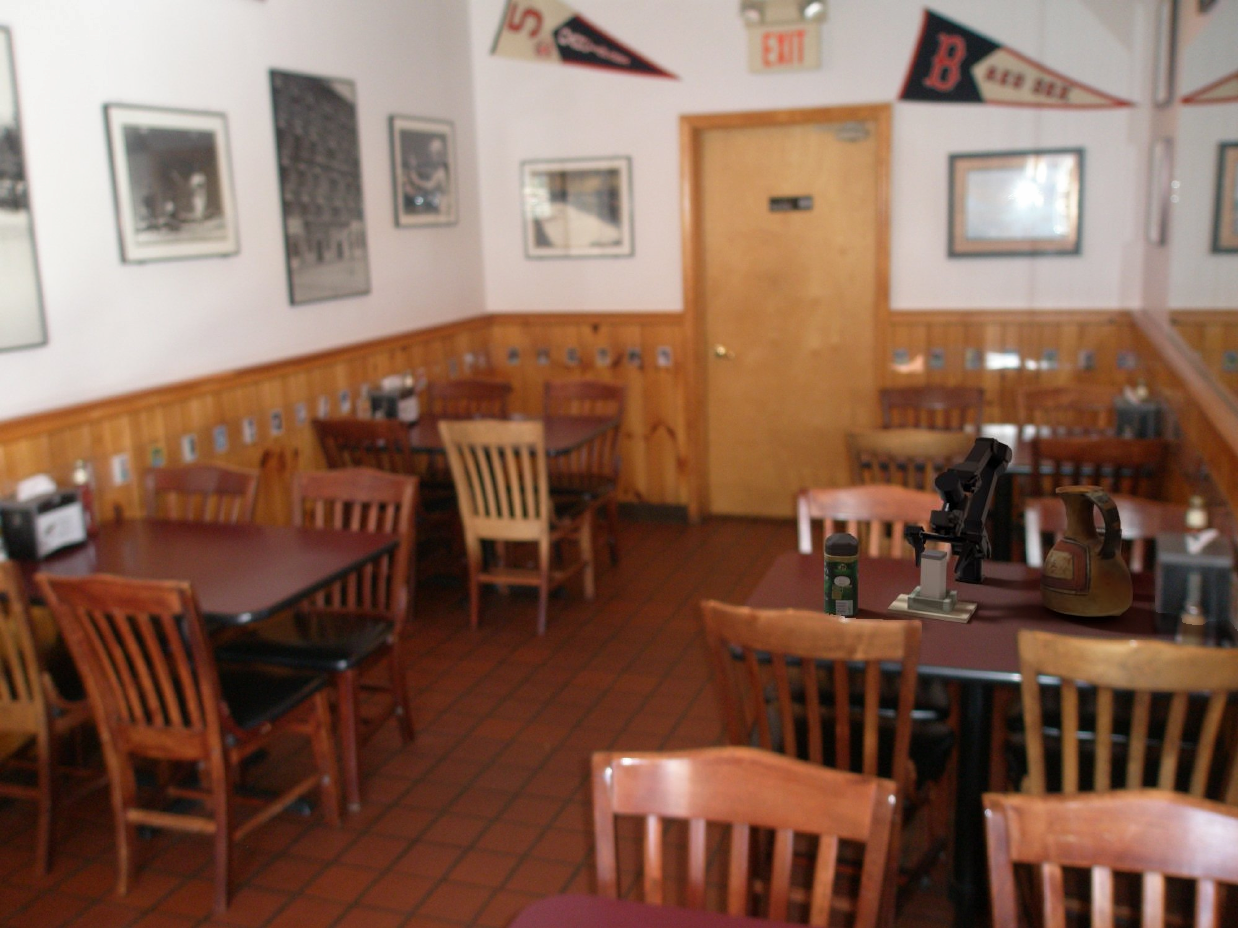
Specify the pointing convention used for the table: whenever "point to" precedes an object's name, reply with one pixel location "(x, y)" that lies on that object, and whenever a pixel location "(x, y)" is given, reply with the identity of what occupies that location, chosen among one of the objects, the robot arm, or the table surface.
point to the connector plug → (933, 574)
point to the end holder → (933, 607)
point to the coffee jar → (841, 574)
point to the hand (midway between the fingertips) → (935, 570)
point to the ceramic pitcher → (1087, 559)
